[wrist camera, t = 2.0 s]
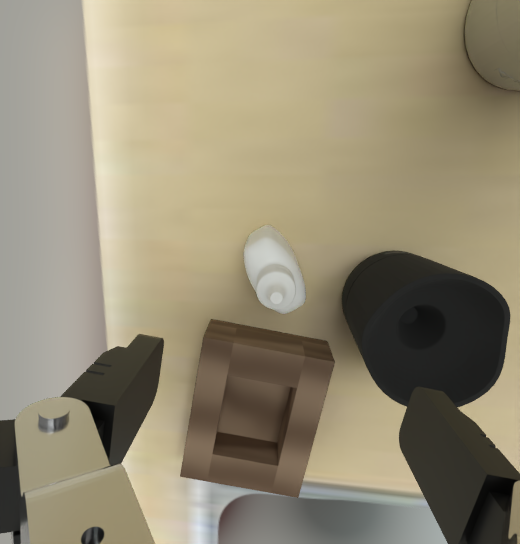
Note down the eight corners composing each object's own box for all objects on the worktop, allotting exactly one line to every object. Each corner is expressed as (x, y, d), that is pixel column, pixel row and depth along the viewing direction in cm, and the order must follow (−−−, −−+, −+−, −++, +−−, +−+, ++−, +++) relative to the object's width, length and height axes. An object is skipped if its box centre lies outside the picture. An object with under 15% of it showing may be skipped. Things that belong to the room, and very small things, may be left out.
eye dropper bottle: (250, 286, 32) (239, 344, 21) (248, 224, 31) (235, 249, 19) (298, 285, 32) (315, 344, 21) (298, 223, 31) (316, 247, 19)
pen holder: (464, 290, 32) (549, 336, 22) (390, 363, 34) (438, 435, 24) (387, 223, 31) (442, 241, 21) (315, 303, 33) (334, 354, 23)
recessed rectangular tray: (211, 319, 33) (203, 337, 29) (327, 341, 33) (334, 362, 30) (189, 445, 37) (180, 476, 33) (295, 464, 37) (298, 497, 33)
